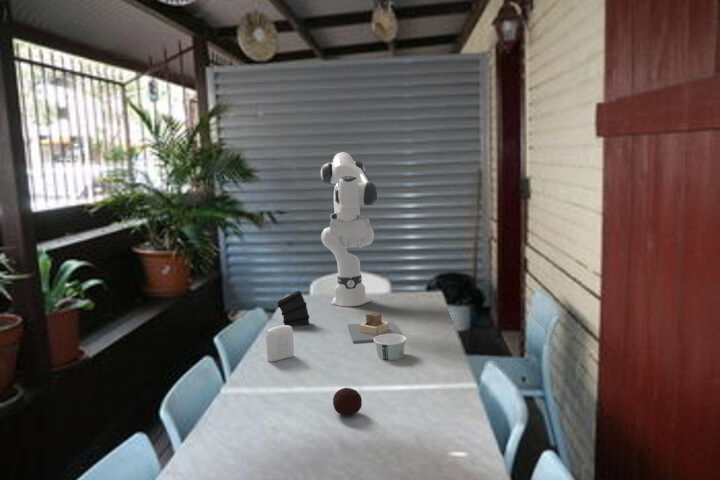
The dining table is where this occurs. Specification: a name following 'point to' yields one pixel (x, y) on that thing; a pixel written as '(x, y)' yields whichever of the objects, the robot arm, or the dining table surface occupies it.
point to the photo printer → (279, 343)
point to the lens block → (373, 319)
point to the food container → (390, 346)
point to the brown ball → (347, 401)
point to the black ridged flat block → (294, 310)
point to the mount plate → (368, 336)
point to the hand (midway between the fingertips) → (351, 247)
